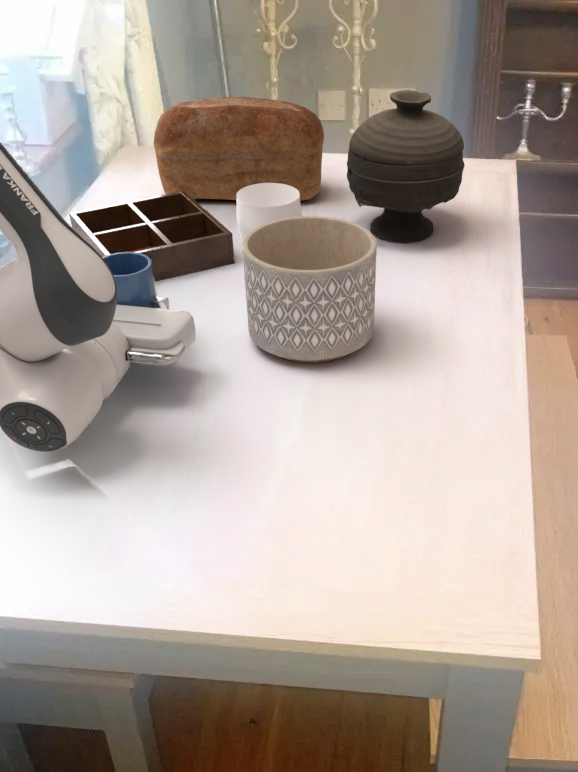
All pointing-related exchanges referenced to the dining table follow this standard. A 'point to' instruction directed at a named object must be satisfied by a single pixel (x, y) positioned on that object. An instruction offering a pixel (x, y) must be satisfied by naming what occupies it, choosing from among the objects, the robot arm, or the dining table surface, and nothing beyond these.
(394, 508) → the dining table surface
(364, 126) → the pot
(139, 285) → the tumbler
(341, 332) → the planter
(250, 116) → the bread
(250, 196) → the cup
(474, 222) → the dining table surface
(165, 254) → the cup rack
